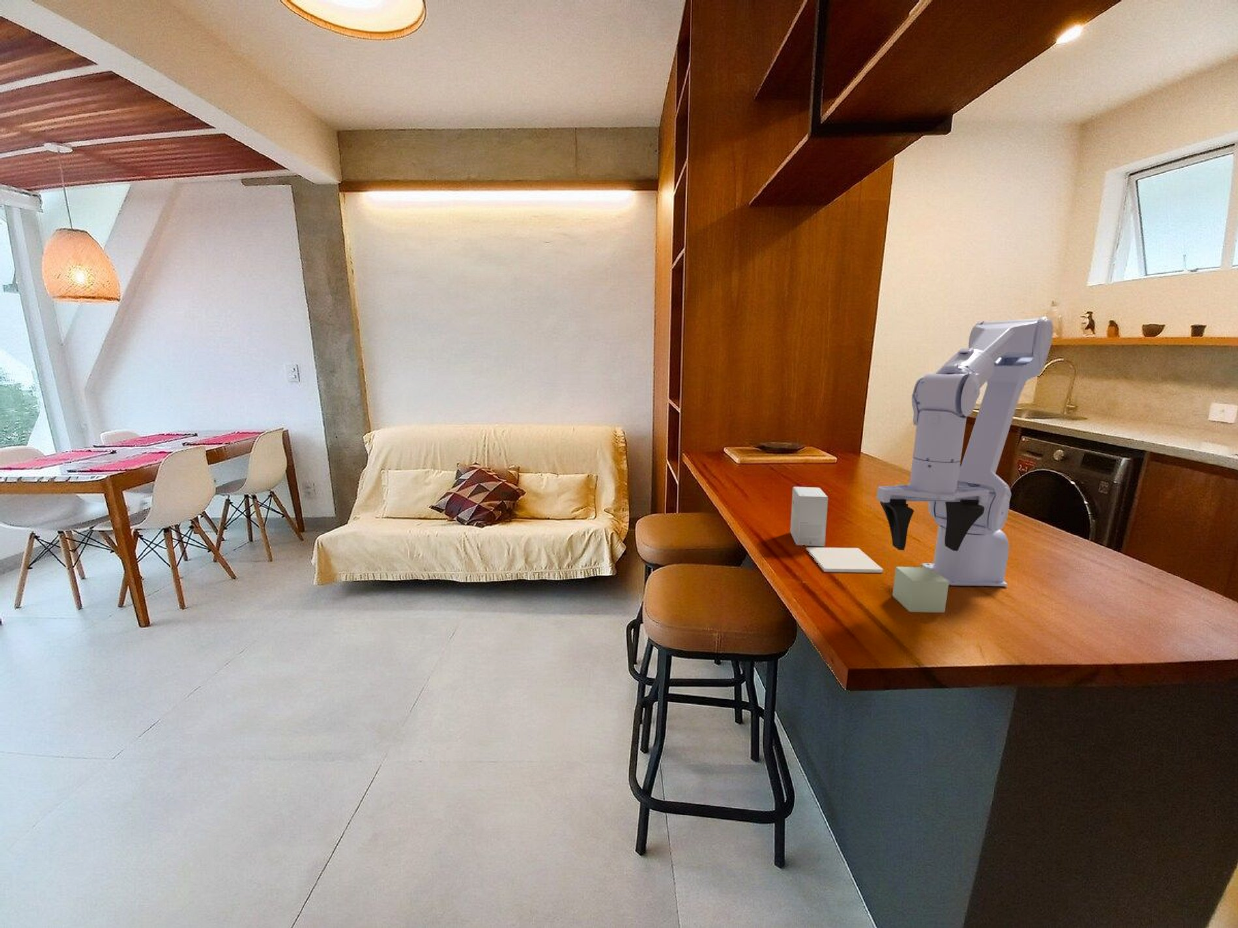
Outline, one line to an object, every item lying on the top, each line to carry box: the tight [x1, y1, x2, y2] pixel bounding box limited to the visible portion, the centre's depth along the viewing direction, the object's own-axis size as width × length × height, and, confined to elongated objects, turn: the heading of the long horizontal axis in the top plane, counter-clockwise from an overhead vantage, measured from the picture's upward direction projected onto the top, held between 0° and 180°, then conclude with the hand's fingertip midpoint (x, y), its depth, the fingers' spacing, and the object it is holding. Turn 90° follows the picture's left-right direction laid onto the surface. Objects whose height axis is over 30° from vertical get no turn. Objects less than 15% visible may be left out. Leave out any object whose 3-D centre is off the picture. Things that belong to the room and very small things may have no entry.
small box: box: [789, 486, 829, 547], centre depth 98 cm, size 8×6×10 cm
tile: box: [805, 546, 884, 574], centre depth 88 cm, size 10×10×1 cm
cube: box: [892, 566, 950, 613], centre depth 72 cm, size 5×5×5 cm
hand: (924, 548), depth 70 cm, fingers open, 7 cm apart
